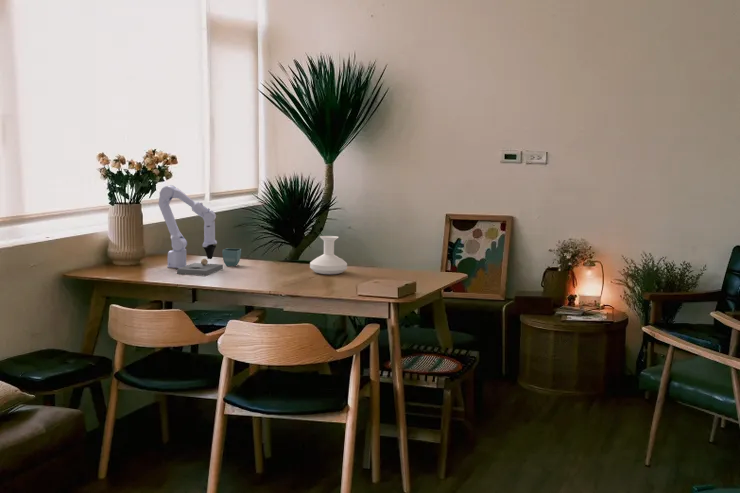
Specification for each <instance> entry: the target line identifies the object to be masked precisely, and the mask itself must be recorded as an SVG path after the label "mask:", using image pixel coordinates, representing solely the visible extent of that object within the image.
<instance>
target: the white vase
mask: <svg viewBox="0 0 740 493" xmlns="http://www.w3.org/2000/svg"><path fill="white" fill-rule="evenodd" d="M319 238H320V239H321V240H322V241H323V254H321V255H319V256H316V258H314V259H313V260H311V261H310V262H309V269H311V270H312V271H313V272H314V273H316V274H320V275H327V276H328V275H339V274H341V273H344V272H345V271H346V270H347V269H348V263H347V261H345V260H344V259H343V258H341V257H339V256H338V255H336V254H335V241H336V240H337V239H339V236H337V235H336V236H335V235H320V236H319Z"/></svg>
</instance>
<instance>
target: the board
mask: <svg viewBox="0 0 740 493" xmlns="http://www.w3.org/2000/svg"><path fill="white" fill-rule="evenodd" d="M186 265H187V266H184V267H181V268H176V273H177V274H179V275H189V276H190V275H192V276H193V275H194V276H208V275H211V274H214V273H217V272H219V271H222V270H223V269H224V264H218V263H207V265H202V264H201V262H194V263H191V264H186Z"/></svg>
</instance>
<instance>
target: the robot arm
mask: <svg viewBox="0 0 740 493" xmlns="http://www.w3.org/2000/svg"><path fill="white" fill-rule="evenodd" d="M172 199H179V200H181V201H182V202H183V203H185V204H186V205H187V206H188V207H189V206H190V208H191V210H192V212H194V213H195V214H196V215H198V216H199V217H201V218H202V220H203V221H204V222H203V223H204V225H203V232H204V233H203V235H204V236H203V238H204V239H203V243H202V248H203V249H204V252H205V253H206V259H207V260H212V259H213V255H214V252H215V250H216V248H217V245H218V240H216V222H215V220H216V218H217V214H216V213H215V211H214V210H211V209H210V208H207V207H206V206H204V204H203V202H199V201H194V200H193V199H192V198H191V197H190V196H188V195H187V194H186V193H184V192H183V191H182V190H181V189H179V188H178V187H176V186H174V185H172V184H170V185H166V186H163V187H162V188H161V190H160V191H159V197H158V207H159V210H160V212H161V215H162V216H163V219H164V221H165V222H164V223H165V224H166V227H167V230H168V232H169V235H170V241H171V248H172V250H169V251H168V252H167V266H166V267H167V268H174V269H178V268H181V267H184V266H187V265H188V264H187V249H186V247H187V246H188V241H187V239H186V238H185V237H184V236H183V234H182V233H181V231H180V229H179V227H178V223H177V221H176V218H175V216H174V214H173V211H172V209H171V206H170V203H171V201H172Z"/></svg>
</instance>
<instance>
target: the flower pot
mask: <svg viewBox="0 0 740 493" xmlns="http://www.w3.org/2000/svg"><path fill="white" fill-rule="evenodd" d="M221 253H222V259H223V260H222V261H223V263H224V265H225V266H227V267H236V266H237V265H239V263H240V260H241V255H242V248H227V247H226V248H225V249H222V252H221Z"/></svg>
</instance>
